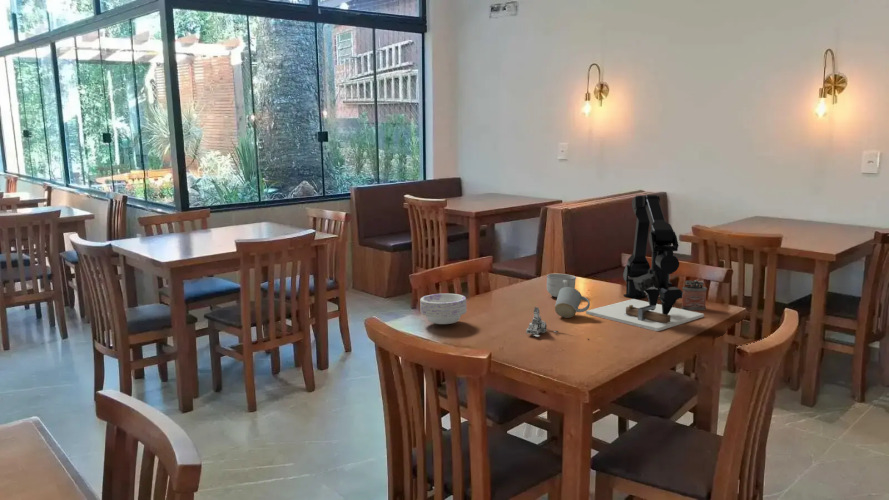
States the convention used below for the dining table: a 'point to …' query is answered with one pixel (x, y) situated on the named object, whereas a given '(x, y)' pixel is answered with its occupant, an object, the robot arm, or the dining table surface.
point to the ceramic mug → (569, 302)
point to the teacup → (559, 283)
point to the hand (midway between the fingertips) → (658, 313)
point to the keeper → (642, 311)
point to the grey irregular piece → (537, 324)
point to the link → (648, 314)
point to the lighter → (694, 296)
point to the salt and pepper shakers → (528, 431)
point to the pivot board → (619, 314)
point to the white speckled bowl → (443, 307)
